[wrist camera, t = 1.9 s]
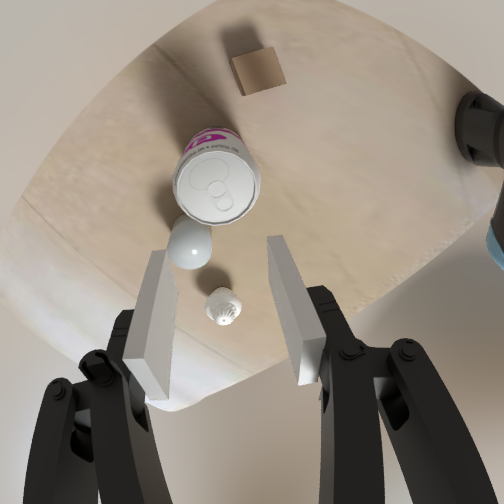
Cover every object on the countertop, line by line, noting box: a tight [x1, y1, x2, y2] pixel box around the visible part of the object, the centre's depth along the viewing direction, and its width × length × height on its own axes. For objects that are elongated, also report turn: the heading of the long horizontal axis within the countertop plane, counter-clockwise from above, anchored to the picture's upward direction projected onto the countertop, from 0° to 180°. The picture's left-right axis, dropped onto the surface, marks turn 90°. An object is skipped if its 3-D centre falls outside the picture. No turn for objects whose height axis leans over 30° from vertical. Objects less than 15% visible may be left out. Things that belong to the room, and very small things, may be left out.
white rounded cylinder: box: [167, 213, 212, 269], centre depth 40 cm, size 6×6×6 cm
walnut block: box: [230, 47, 287, 96], centre depth 29 cm, size 5×5×5 cm
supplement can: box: [173, 127, 261, 226], centre depth 30 cm, size 8×8×15 cm
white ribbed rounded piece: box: [205, 287, 242, 325], centre depth 46 cm, size 6×6×7 cm
